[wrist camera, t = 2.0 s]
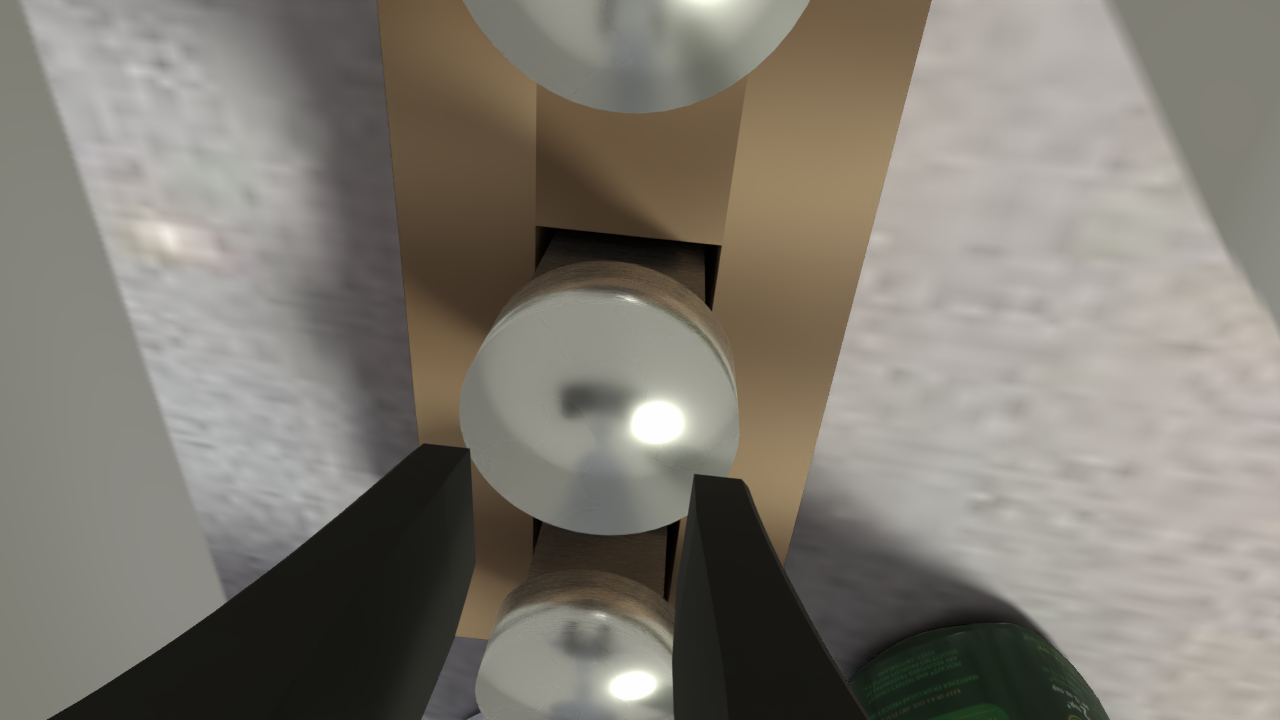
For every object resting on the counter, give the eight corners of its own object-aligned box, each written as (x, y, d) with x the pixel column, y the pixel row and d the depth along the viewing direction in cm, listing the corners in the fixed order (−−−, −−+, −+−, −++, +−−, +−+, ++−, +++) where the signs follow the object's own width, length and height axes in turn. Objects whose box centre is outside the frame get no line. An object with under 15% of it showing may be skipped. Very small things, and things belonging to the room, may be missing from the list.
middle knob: (713, 378, 17) (718, 548, 12) (531, 358, 17) (464, 519, 12) (741, 200, 15) (762, 321, 10) (532, 178, 15) (451, 287, 10)
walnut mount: (747, 563, 23) (756, 671, 20) (476, 532, 23) (436, 633, 20) (938, -284, 12) (1029, -376, 9) (435, -328, 13) (335, -434, 9)
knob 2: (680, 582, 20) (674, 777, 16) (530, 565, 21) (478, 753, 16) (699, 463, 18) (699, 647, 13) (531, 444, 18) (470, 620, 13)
